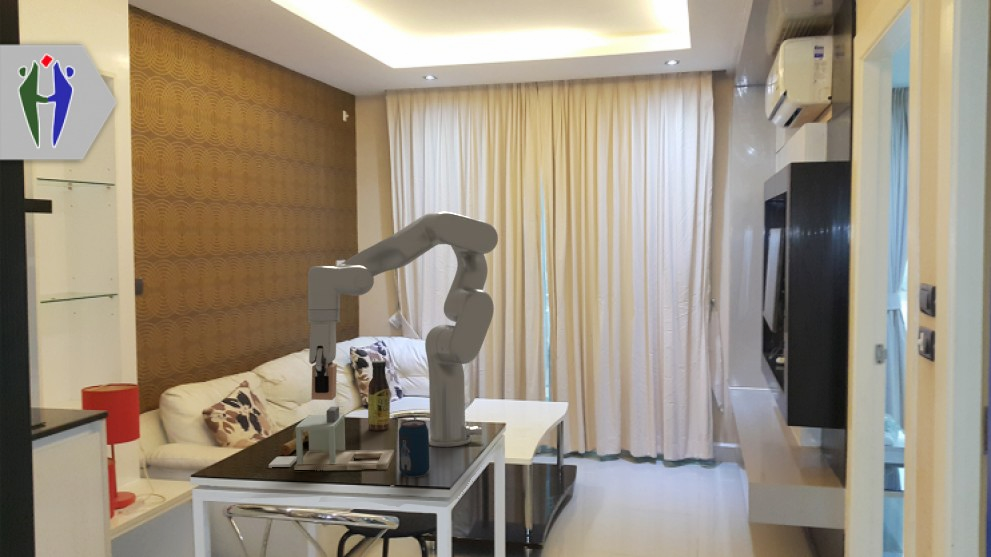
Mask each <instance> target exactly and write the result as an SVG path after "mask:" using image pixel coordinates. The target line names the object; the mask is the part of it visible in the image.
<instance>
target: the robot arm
mask: <svg viewBox="0 0 991 557" xmlns="http://www.w3.org/2000/svg"><path fill="white" fill-rule="evenodd" d="M498 241H499V235H498V232H497V230H496V228H495V227H494V226H493V225H492V224H491V223H488V222H487V221H483V220H479V219H476V218H472V217H469V216H466V215H462V214H458V213H453V212H450V211H438V212H430V213H429V212H428V213H426V214H424V215H422V216H421V217H418V218H417V219H415V220H414V221H412V222H411V223H410V224H408V225H406V226H405V227H403V228H401V229H400V230H399V231H397V232H395V233H394V234H391V235H390V236H389V237H387V238H385V239H383V240H381V241H378V242H377V243H375V244H373V245H370V247H367V248H366V249H363V250H362V251H360V252H358V253H356V254H354V255H352V256H351V257H349V258H347V260H345V261H343V262H341V263H340V264H338V265H337V266H333V265H332V266H330V265H316V266H311V267H310V268H309V270H308V275H307V276H308V279H307V280H308V281H307V282H308V284H307V286H308V287H307V288H308V290H307V291H308V292H307V293H308V300H307V301H308V308H307V309H308V310H307V312H308V320H307V321H308V322H307V323H308V324H311V325H310V332H309V333H310V334H309V349H308V350H309V352H308V353H309V354H308V356H309V357H308V362H309V364H310V365H316V367H315V392H316V393H328V392H329V376H327V373H328V364H334V363H333V362H334V360H336V356H337V327H336V325H337V323H340V322H341V313H340V312H341V295H349V296H362V295H365V294H367V293H369V292H370V291H371V290H372V288H374V287H373V286H374V284H375V276H377V275H380V274H382V273H386V272H388V271H393V270H397V269H400V268H403V267H405V266H408V265H409V264H410V263H412V262H413V261H415V260H417V259H418V258H419V257H421V256H423V255H424V254H426V253H427V252H429V251H430V250H431V249H433V248H435V247H436V246H438V245H449V246H450V247H451V249H452V250H453V252H454V255H455V258H456V261H457V264H456V265H457V267H456V271H455V276H454V277H453V280H452V282H451V285H450V287H449V291H448V292H447V295H446V298H445V300H444V303H443V314H444V315H445V317H446V318H447V319H448V320H450V321H451V322H454V323H455V325H450V324H439V325H436V326H434V327H433V328H432V329H430V330H429V331H428V333H427V334H426V338H425V342H424V346H425V354H426V360H427V365H428V382H429V384H428V386H429V387H428V388H429V390H428V391H429V393H428V394H429V396H428V397H429V446H433V447H438V448H439V447H441V448H442V447H443V448H444V447H446V448H447V447H449V448H450V447H459V446H463V445H466V444H469V443H470V442H471V441H472V436H473V435H474V436H482V434H483V428H482V427H478V426H468V424H467V423H468V422H467V421H466V407H465V406H466V404H465V403H466V402H465V401H466V400H465V394H466V393H465V392H466V391H465V373H464V372H465V371H464V367H463V365H467V364H469V363H471V362H473V361H474V360H475V359H476V358H477V356H478V355H479V353H480V352H481V351H480V350H481V349H482V346H483V344H484V342H485V338H486V336H487V334H488V331H489V328H490V325H491V324H492V323H491V322H492V319H493V316H494V310H495V309H494V302H493V298H492V297H491V295H490V294H489V293H488V292H486V291H484V288H485V284H486V282H487V278H488V263H487V260H486V257H485V255H486V254H489V253H491V252H492V251H494V249H496V247H497V245H498ZM324 366H325V368H324ZM324 369H325V370H324Z"/></svg>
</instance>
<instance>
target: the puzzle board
mask: <svg viewBox="0 0 991 557" xmlns="http://www.w3.org/2000/svg"><path fill="white" fill-rule="evenodd" d="M335 454H336V462H335V463H332V464H330V459H329V450H325V451H309V450H308V451H307V452H306V453H305V454H303V463H302V464H297V463H296V464H294V466H293V468H294V470H315V471H316V470H317V472H319V471H320V470H321V471H322V470H323V471H363V470H364V469H377V470H388V468H389V466H390V464H391V462H392V460H393V458H394V456H395V449H367V450H362V449H361V450H360V449H359V450H357V449H356V450H335ZM379 457H380V458H379ZM354 458H355V459H378V460H365V461H364V460H363V461H362V460H361V461H358V460H357V461H356V460H355V459H354ZM354 460H355V461H354ZM362 469H363V470H362ZM294 470H293V471H294ZM315 471H314V472H315ZM364 471H365V470H364Z"/></svg>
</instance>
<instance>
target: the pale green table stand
mask: <svg viewBox="0 0 991 557" xmlns="http://www.w3.org/2000/svg"><path fill="white" fill-rule="evenodd" d="M345 424H346V423H345V414H344V413H340V406H330V407H329V408H328V409H327V410H326V414H325V413H324V414H308V415H307V416H306V417H305V418H304V419H303V420H301V422H299V423H298V424H297V425H296V426H295V428H296V449H295V450H296V452H295V453H296V456H297V460H296V464H302V463H303V456H304V445H303V443H304V442H303V439H302V430H309V441H308V451H329V459H330V464H332V463H335V462H336V454H335V451H346V439H345V438H346V430H345V429H346V427H345Z"/></svg>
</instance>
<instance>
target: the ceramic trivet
mask: <svg viewBox="0 0 991 557" xmlns="http://www.w3.org/2000/svg"><path fill="white" fill-rule="evenodd" d="M295 462H297V455H296V456H295V455H294V456H293V455H292V456H290V455H286V456H276V457H275V458H274V459H273V460H272V461H271V462H270V463H269V464H268V469H273V468H272V467H292V466H293V464H295Z"/></svg>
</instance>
